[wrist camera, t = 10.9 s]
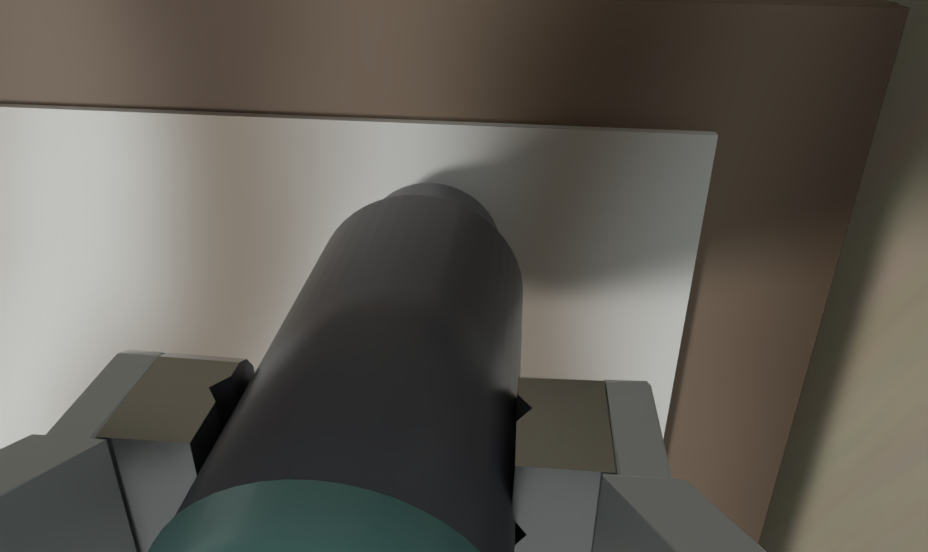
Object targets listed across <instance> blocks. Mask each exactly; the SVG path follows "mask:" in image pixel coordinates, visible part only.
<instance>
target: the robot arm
mask: <svg viewBox="0 0 928 552" xmlns="http://www.w3.org/2000/svg"><path fill="white" fill-rule="evenodd" d="M254 373H255V372H254V367H253V365H252V364H251V363H250V362H249V361H248V360H247V359H242V358H230V357H218V356H205V355H193V354H181V353H169V352H168V353H164V352H154V351H138V350H126V351H123V352H120V353H117V354H116V355H115V356H114V357H113V359H112V360H111V361H110V362H109V363H108V364H107V365H106V367H105V368H104V369H103V370H102V371H101V372H100V373H99V375H98V376H97V377H96V378H95V379H94V380H93V381H92V382H91V384H90V385H89V386H88V387H87V388H86V389H85V390H84V392H83V393H82V394H81V395H80V396H79V397H78V398H77V400H76V401H75V402H74V403H73V404H72V405H71V406H70V408H69V409H68V410H67V411H66V412H65V413H64V414H63V415H62V417H61V418H60V419H59V420H58V421H57V422H56V423H55V425H54V426H53V427H52V428H51V429H50V430H49V431H48V433H47V434H46V435H37V434H31V435H29V436H27V437H25V438H23V439H21V440H19V441H17V442H14V443H12V444H10V445H8V446H6V447H4V448H2V449H0V552H148V550H149V548H150V547H151V545H152V543H153V542H154V540H155V539H156V537H157V536H158V534H159V533H160V532H161V530H162V529H163V527H164V526H165V525H166V524H168V523H169V522H170V521H171V520H172V519H173V518H174V516H175V515H176V513H177V511H178V509H179V507H180V506H181V504H182V502H183V500H184V498H185V497H186V495H187V493H188V491H189V490H190V488H191V486H192V484H193V482H194V481H195V479H196V477H197V475H198V473H199V472H200V470H201V468H202V466H203V465H204V463H205V461H206V459H207V457H208V456H209V454H210V452H211V450H212V448H213V447H214V445H215V443H216V441H217V439H218V438H219V436H220V434H221V432H222V431H223V429H224V427H225V425H226V423H227V422H228V420H229V418H230V416H231V414H232V413H233V411H234V409H235V407H236V406H237V404H238V402H239V400H240V398H241V397H242V395H243V393H244V391H245V389H246V388H247V386H248V384H249V382H250V380H251V379H252V377H253V375H254ZM512 510H513V515H514V520H515V521H516V524H515V552H766V551H765V550H764V549H763V548H762V547H761V546H760V545H759V544H757V543H756V542H755V541H754V540H753V539H752V538H751V537H750V536H748V535H747V534H746V533H745V532H744V531H743V530H742V529H741V528H739V527H738V526H737V525H736V524H735V523H734V522H733V521H732V520H730V519H729V518H728V517H727V516H726V515H725V514H724V513H723V512H721V511H720V510H719V509H718V508H717V507H716V506H715V505H714V504H712V503H711V502H710V501H709V500H708V499H707V498H706V497H705V496H703V495H702V494H701V493H700V492H699V491H698V490H697V489H696V488H694V487H693V486H692V485H691V484H690V483H689V482H688V481H687V480H683V479H672V476H671V472H670V467H669V463H668V458H667V454H666V449H665V445H664V441H663V436H662V432H661V427H660V423H659V419H658V414H657V410H656V405H655V401H654V397H653V392H652V388H651V385H650V384H649V383H648V382H647V381H633V380H603V381H598V380H579V379H559V378H539V377H519V376H518V385H517V401H516V420H515V451H514V470H513V502H512Z"/></svg>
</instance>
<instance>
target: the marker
mask: <svg viewBox="0 0 928 552" xmlns="http://www.w3.org/2000/svg"><path fill="white" fill-rule="evenodd" d="M522 310H523V283H522V277H521V271H520V268H519V265H518V262H517V259H516V257H515V255H514V253H513V251H512V249H511V248H510V246H509V245H508V243H507V242H506V240H505V239H504V237H503V236H502V235H501V234H500V233H499V232H498V229H497V226H496V224H495V222H494V220H493V218H492V217H491V215H490V214H489V212H488V211H487V210H486V209H485V208H484V207H483V205H482V204H480V203H479V202H478V201H477V200H476V199H475V198H473V197H472V196H470V195H469V194H467V193H465V192H463V191H461V190H459V189H457V188H454V187H451V186H447V185H443V184H436V183H420V184H413V185H409V186H406V187H403V188H401V189H398V190H396V191H394V192H393V193H391V194H389V195H388V196H387V197H385V198H384V199H382V200H379V201H376V202H373V203H371V204H369V205H366V206H364V207H363V208H361V209H359V210H358V211H356V212H354V213H353V214H352V215H351V216H349V217H348V218H347V219H346V220H344V222H343V223H342V224H341V225H340V226H339V227H338V228H337V229H336V230H335V232H334V233H333V235H332V236H331V238H330V239H329V241H328V243H327V245H326V246H325V248H324V250H323V252H322V254H321V255H320V257H319V259H318V261H317V262H316V264H315V266H314V268H313V270H312V271H311V273H310V275H309V277H308V279H307V280H306V282H305V284H304V286H303V287H302V289H301V291H300V293H299V295H298V296H297V298H296V300H295V302H294V304H293V305H292V307H291V309H290V311H289V313H288V314H287V316H286V318H285V320H284V321H283V323H282V325H281V327H280V329H279V330H278V332H277V334H276V336H275V338H274V339H273V341H272V343H271V345H270V346H269V348H268V350H267V352H266V354H265V355H264V357H263V359H262V361H261V363H260V364H259V366H258V368H257V370H256V372H255V373H254V375H253V377H252V379H251V380H250V382H249V384H248V386H247V388H246V389H245V391H244V393H243V395H242V397H241V398H240V400H239V402H238V404H237V406H236V407H235V409H234V411H233V413H232V414H231V416H230V418H229V420H228V422H227V423H226V425H225V427H224V429H223V431H222V432H221V434H220V436H219V438H218V439H217V441H216V443H215V445H214V447H213V448H212V450H211V452H210V454H209V456H208V457H207V459H206V461H205V463H204V465H203V466H202V468H201V470H200V472H199V473H198V475H197V477H196V479H195V481H194V482H193V484H192V486H191V488H190V490H189V491H188V493H187V495H186V497H185V498H184V500H183V502H182V504H181V506H180V507H179V509H178V511H177V513H176V515H175V516H174V518H173V519H172V520H171V521H170V522H169V523H168V524H166V525H165V526H164V527H163V529H162V530H161V532H160V533H159V534H158V536H157V537H156V539H155V540H154V542H153V543H152V545H151V547H150V548H149V550H148V552H515V524H516V521H515V520H514V515H513V510H512V502H513V470H514V451H515V420H516V401H517V385H518V376H519V377H520V371H521V340H522Z"/></svg>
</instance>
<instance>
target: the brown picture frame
mask: <svg viewBox="0 0 928 552" xmlns="http://www.w3.org/2000/svg"><path fill="white" fill-rule="evenodd" d="M908 11H909V8H906V7H904V6H901V5H898V4H896V3H893V2H890V1H888V0H0V449H2V448H4V447H6V446H8V445H10V444H12V443H14V442H17V441H19V440H21V439H23V438H25V437H27V436H29V435H31V434H37V435H46V434H47V433H48V431H49V430H50V429H51V428H52V427H53V426H54V425H55V423H56V422H57V421H58V420H59V419H60V418H61V417H62V415H63V414H64V413H65V412H66V411H67V410H68V409H69V408H70V406H71V405H72V404H73V403H74V402H75V401H76V400H77V398H78V397H79V396H80V395H81V394H82V393H83V392H84V390H85V389H86V388H87V387H88V386H89V385H90V384H91V382H92V381H93V380H94V379H95V378H96V377H97V376H98V375H99V373H100V372H101V371H102V370H103V369H104V368H105V367H106V365H107V364H108V363H109V362H110V361H111V360H112V359H113V357H114V356H115V355H116V354H117V353H120V352H123V351H126V350H138V351H154V352H164V353H168V352H169V353H181V354H193V355H205V356H218V357H230V358H242V359H247V360H248V361H249V362H250V363H251V364H252V365H253V367H254V372H256V370H257V368H258V366H259V364H260V363H261V361H262V359H263V357H264V355H265V354H266V352H267V350H268V348H269V346H270V345H271V343H272V341H273V339H274V338H275V336H276V334H277V332H278V330H279V329H280V327H281V325H282V323H283V321H284V320H285V318H286V316H287V314H288V313H289V311H290V309H291V307H292V305H293V304H294V302H295V300H296V298H297V296H298V295H299V293H300V291H301V289H302V287H303V286H304V284H305V282H306V280H307V279H308V277H309V275H310V273H311V271H312V270H313V268H314V266H315V264H316V262H317V261H318V259H319V257H320V255H321V254H322V252H323V250H324V248H325V246H326V245H327V243H328V241H329V239H330V238H331V236H332V235H333V233H334V232H335V230H336V229H337V228H338V227H339V226H340V225H341V224H342V223H343V222H344V220H346V219H347V218H348V217H349V216H351V215H352V214H353V213H354V212H356V211H358V210H359V209H361V208H363V207H364V206H366V205H369V204H371V203H373V202H376V201H379V200H382V199H384V198H385V197H387V196H388V195H389V194H391V193H393V192H394V191H396V190H398V189H401V188H403V187H406V186H409V185H413V184H420V183H436V184H443V185H447V186H451V187H454V188H457V189H459V190H461V191H463V192H465V193H467V194H469V195H470V196H472V197H473V198H475V199H476V200H477V201H478V202H479V203H480V204H482V205H483V207H484V208H485V209H486V210H487V211H488V212H489V214H490V215H491V217H492V218H493V220H494V222H495V224H496V226H497V229H498V232H499V233H500V234H501V235H502V236H503V237H504V239H505V240H506V242H507V243H508V245H509V246H510V248H511V249H512V251H513V253H514V255H515V257H516V259H517V262H518V265H519V268H520V271H521V277H522V283H523V310H522V340H521V371H520V377H539V378H559V379H579V380H598V381H603V380H633V381H647V382H648V383H649V384H650V385H651V388H652V392H653V397H654V401H655V405H656V410H657V414H658V419H659V423H660V427H661V432H662V436H663V441H664V445H665V449H666V454H667V458H668V463H669V467H670V472H671V476H672V479H683V480H687V481H688V482H689V483H690V484H691V485H692V486H693V487H694V488H696V489H697V490H698V491H699V492H700V493H701V494H702V495H703V496H705V497H706V498H707V499H708V500H709V501H710V502H711V503H712V504H714V505H715V506H716V507H717V508H718V509H719V510H720V511H721V512H723V513H724V514H725V515H726V516H727V517H728V518H729V519H730V520H732V521H733V522H734V523H735V524H736V525H737V526H738V527H739V528H741V529H742V530H743V531H744V532H745V533H746V534H747V535H748V536H750V537H751V538H752V539H753V540H754V541H755V542H756V543H757V544H758V543H759V539H760V536H761V532H762V529H763V525H764V522H765V518H766V515H767V511H768V507H769V504H770V500H771V497H772V493H773V490H774V486H775V483H776V479H777V476H778V472H779V468H780V465H781V461H782V458H783V454H784V451H785V447H786V444H787V440H788V437H789V433H790V429H791V426H792V422H793V419H794V415H795V412H796V408H797V405H798V401H799V398H800V394H801V390H802V387H803V383H804V380H805V376H806V373H807V369H808V366H809V362H810V359H811V355H812V351H813V348H814V344H815V341H816V337H817V334H818V330H819V327H820V323H821V320H822V316H823V312H824V309H825V305H826V302H827V298H828V295H829V291H830V288H831V284H832V281H833V277H834V273H835V270H836V266H837V263H838V259H839V256H840V252H841V249H842V245H843V241H844V238H845V234H846V231H847V227H848V224H849V220H850V217H851V213H852V210H853V206H854V202H855V199H856V195H857V192H858V188H859V185H860V181H861V178H862V174H863V171H864V167H865V163H866V160H867V156H868V153H869V149H870V146H871V142H872V139H873V135H874V132H875V128H876V124H877V121H878V117H879V114H880V110H881V107H882V103H883V100H884V96H885V93H886V89H887V85H888V82H889V78H890V75H891V71H892V68H893V64H894V61H895V57H896V54H897V50H898V46H899V43H900V39H901V36H902V32H903V29H904V25H905V22H906V18H907V15H908Z"/></svg>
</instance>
